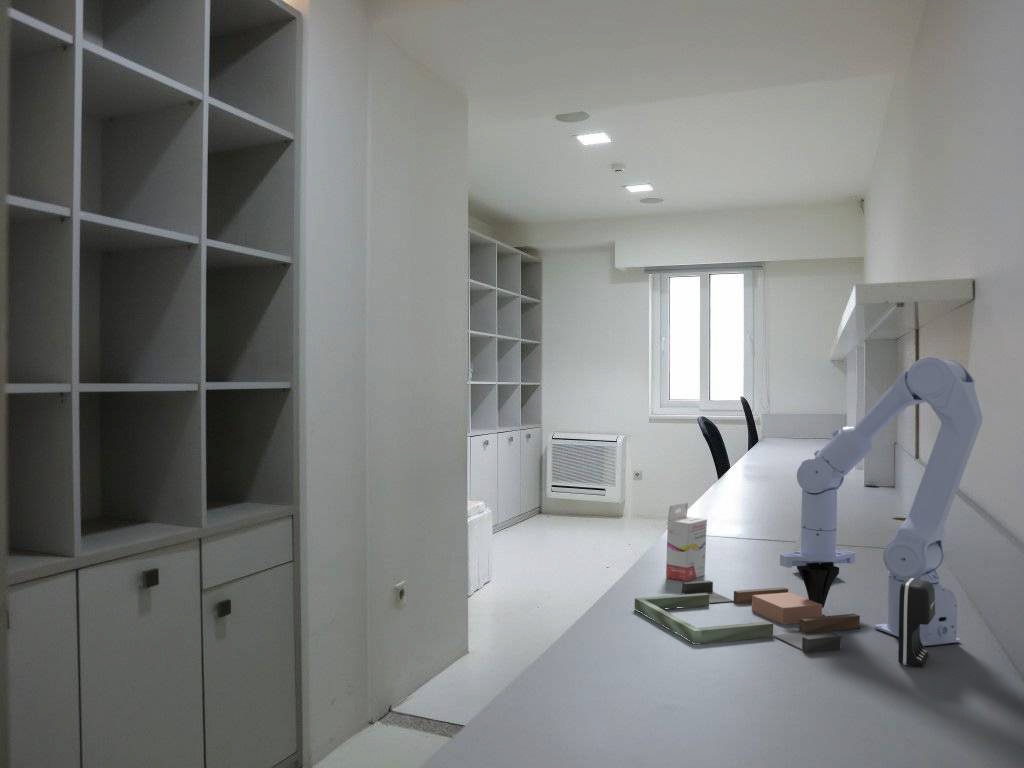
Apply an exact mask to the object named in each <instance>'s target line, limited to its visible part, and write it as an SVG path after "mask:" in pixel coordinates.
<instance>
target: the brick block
mask: <svg viewBox="0 0 1024 768" xmlns="http://www.w3.org/2000/svg"><path fill="white" fill-rule="evenodd" d="M751 611H752V612H755V613H757V614H759V615H761V616H763V617H766V618H768V619H770V620H773V621H775V622H777V623H779V624H782V625H788V624H798V623H799V621H800V619H801V618H812V617H823V608H822V604H819V603H816V602H814V601H811V600H809V598H805V597H803V596H800V595H798V594H795V593H792V592H789V591H788V592H787V593H774V594H761V595H752V603H751Z"/></svg>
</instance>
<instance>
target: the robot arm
mask: <svg viewBox="0 0 1024 768" xmlns="http://www.w3.org/2000/svg"><path fill="white" fill-rule="evenodd" d="M975 382H976V380H975V379H974V377H973V375H971V373H970V372H969V371H968V369H966V367H965V366H964V365H963V364H961V363H960V362H958V361H956V360H952V359H941V358H938V357H934V356H933V357H932V356H925V357H922V358H919V359H918V360H916V361H915V362H914V363H912V364H911V366H910V367H909V369H908V370H905V371H904V372H903V373H901V374H900V375H899V376H898V377H897V378H896V380H895V381H893V384H892V385H890V386H889V388H888V389H887V390H886V391H885V392H884V393H883V395H882V396H881V397H880V398H879V399H878V400H877V401H876V402H875V403H874V405H872V407H871V408H870V409H869V410H868V412H866V414H865V415H863V417H861V418H860V420H859V422H858V423H856V424H855V426H843V427H842V428H841V429H840V428H839V429H837V428H836V429H835V430H834V431H833V432H832V433H831V435H832V438H831V439H830V440H829V441H828V443H827V444H825V446H824V447H822V449H817V450H815V452H813V456H814V458H809V459H804V460H803V461H802V462H801V463H800V466H799V467H798V468H797V471H796V481H797V483H798V485H799V486H800V488H801V517H800V518H801V519H800V522H801V523H800V528H801V529H800V534H801V549H799V551H797V552H787V553H780V554H779V566H781V567H784V568H789V569H790V568H793V567H796V569H797V571H798V573H799V575H800V576H801V579H802V581H803V583H804V586H805V590H806V593H807V599H808V600H811V601H814V602H816V603H819V604H822V609H824V607H825V604H826V601H827V598H828V595H829V591H830V590H831V587H832V585H833V583H834V582H835V579H836V578H837V576H839V574H840V567H838V566H835V565H836V564H850V565H853V564H856V552H855V551H850V550H837V551H836V549H837V528H838V527H837V524H838V521H837V520H838V519H837V518H838V517H837V516H838V515H837V514H838V490H840V487H842V485H843V483H844V479H845V476H847V475H848V473H850V472H851V471H852V469H854V468H855V467H856V466H857V465H858V464H859V463H860V462H861V461H862V460H863V459H864V458H865V457H866V456H867V455H868V454H869V453H870V452H871V451H872V443H873V441H872V440H873V438H874V437H876V436H877V435H879V433H880V432H881V431H883V429H885V427H887V426H888V425H889V424H890V423H891V422H893V421H894V420H895V419H896V418H898V416H899V415H900V414H901V413H902V412H903V411H905V409H907V408H908V407H910V406H911V407H912V406H916V405H918V404H924V403H927V404H928V405H929V406H930V407H931V409H932V410H933V412H934V413H935V415H936V417H938V420H939V421H940V422H941V425H940V428H939V430H938V433H937V436H936V439H935V441H934V444H933V446H932V449H931V452H930V455H929V457H928V460H927V464H926V466H925V468H924V472H923V474H922V477H921V479H920V482H919V485H918V488H917V492H916V493H915V497H914V500H913V501H912V505H911V507H910V511H909V513H908V516H907V517H906V519H905V520H904V521H903V522H902V524H901V525H900V527H899V528H898V531H897V534H896V536H895V537H894V538H893V539H892V540H891V541H890V542H889V543H887V545H886V546H885V548H884V550H883V554H882V557H883V558H882V559H883V562H884V566H885V568H886V569H887V571H888V572H887V573H888V575H887V576H888V577H887V613H886V614H887V618H886V622H887V623H880V624H874V627H873V628H874V629H877V630H879V631H883V632H884V633H887V634H889V635H892V636H895V637H898V638H899V597H900V587H901V584H902V583H903V582H904V581H905V580H906V579H908V578H910V579H911V578H914V579H917V580H923V581H928V582H930V583H931V584H932V585H933V587H934V591H935V615H934V617H933V619H932V620H931V622H930V623H929V624H928V625H923V624H920V639H921V643H922V645H923V647H926V646H927V647H928V646H936V645H945V644H951V643H952V644H954V643H960V642H961V638H959V637H957V634H958V633H957V631H958V630H957V628H958V627H957V625H958V623H957V622H958V619H957V618H958V602H957V601H958V600H957V597H956V595H955V593H954V592H953V591H952V590H951V589H949V588H948V587H945V586H944V585H942V583H941V582H940V576H939V574H938V571H937V569H939V568H940V567H941V566H942V564H943V563H944V562H943V561H944V559H945V552H944V551H945V550H944V540H945V537H946V529H945V523H946V520H947V519H948V515H949V512H950V510H951V507H952V504H953V502H954V500H955V497H956V494H957V491H958V488H959V486H960V484H961V480H962V478H963V475H964V473H965V470H966V467H967V464H968V462H969V459H970V456H971V453H972V451H973V449H974V446H975V444H976V441H977V437H978V435H979V432H980V430H981V427H982V424H983V414H982V410H981V409H982V408H981V405H980V401H979V399H978V395H977V393H976V385H975V384H976V383H975ZM834 564H835V565H834Z"/></svg>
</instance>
